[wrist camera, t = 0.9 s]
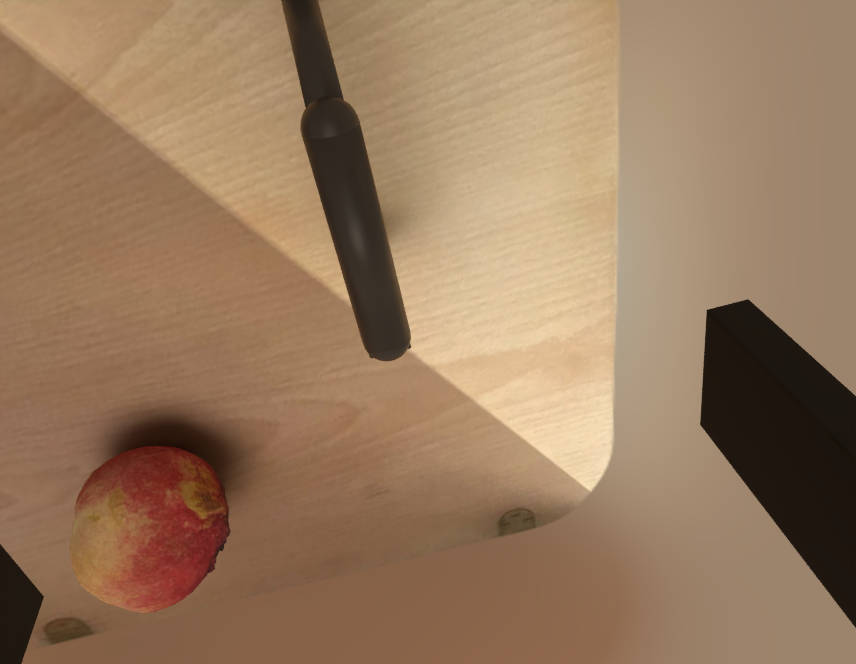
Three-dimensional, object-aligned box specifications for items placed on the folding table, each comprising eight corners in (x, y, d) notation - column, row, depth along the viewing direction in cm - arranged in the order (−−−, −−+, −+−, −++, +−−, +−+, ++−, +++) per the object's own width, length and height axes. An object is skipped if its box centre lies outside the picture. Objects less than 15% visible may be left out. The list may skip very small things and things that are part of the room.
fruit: (112, 396, 36) (74, 515, 29) (256, 434, 39) (251, 549, 32) (74, 499, 39) (32, 627, 32) (209, 526, 42) (197, 648, 35)
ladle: (145, -232, 23) (69, -290, 14) (324, -270, 23) (348, -349, 15) (306, 264, 33) (315, 390, 25) (426, 234, 34) (473, 349, 26)
